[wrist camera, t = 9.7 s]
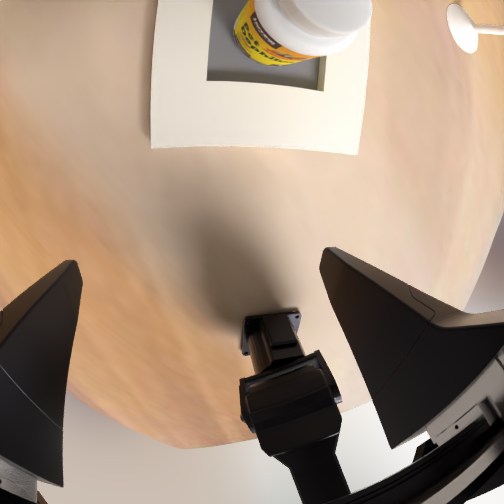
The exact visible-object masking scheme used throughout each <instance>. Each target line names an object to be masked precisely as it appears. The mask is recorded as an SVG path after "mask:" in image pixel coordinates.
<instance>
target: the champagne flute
mask: <svg viewBox="0 0 504 504" xmlns="http://www.w3.org/2000/svg"><path fill="white" fill-rule="evenodd" d="M447 21H448V25H449V28H450V31H451V33H452V35H453V37H454V39H455V41H456V42H457V44H458V45H459V46H460V47H461V48H462V49H463V50H464V51H466V52H468V53H473V52H475V51H476V49H477V46H478V33H487V34H498V35H504V26H503V25H490V24H475V23H474V22H473V20H472V19H471V17H470V16H469V14H468V13H467V12H466V11H465V10H464V9H463V8H462V7H461V6H459V5H457V4H450V5H449V6H448V8H447Z"/></svg>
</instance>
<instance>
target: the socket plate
mask: <svg viewBox="0 0 504 504" xmlns="http://www.w3.org/2000/svg"><path fill="white" fill-rule="evenodd" d="M248 1H249V0H158V8H157V16H156V24H155V34H154V45H153V59H152V77H151V149H154V148H171V147H197V146H246V147H273V148H290V149H303V150H315V151H325V152H334V153H343V154H351V155H357V153H358V147H359V140H360V134H361V127H362V119H363V112H364V103H365V94H366V85H367V74H368V61H369V46H370V21H369V22H368V24H367V25H366V26H365V27H364V28H363V29H361V30H360V31H358V34H357V36H356V38H355V39H354V41H353V42H352V43H351V44H350V45H349V46H348V47H346V48H345V49H343V50H341V51H339V52H337V53H334V54H330V55H326V56H321V57H316V58H312V59H308V60H304V61H300V62H296V63H292V64H289V65H285V66H277V67H271V66H264V65H261V64H258V63H255V62H253V61H252V60H250V59H248V58H247V57H246V56H245V55H244V54H243V53H242V52H241V51H240V50H239V48H238V47H237V45H236V43H235V40H234V34H233V31H234V24H235V22H236V19H237V17H238V16H239V14H240V13H241V11H242V10H243V8H244V7H245V5H246V4H247V2H248ZM370 20H371V18H370Z"/></svg>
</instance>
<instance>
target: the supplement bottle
mask: <svg viewBox="0 0 504 504" xmlns="http://www.w3.org/2000/svg"><path fill="white" fill-rule="evenodd" d="M371 15H372V3H371V0H249V1H248V2H247V4H246V5H245V7H244V8H243V10H242V11H241V13H240V14H239V16H238V17H237V19H236V22H235V24H234V31H233V34H234V40H235V43H236V45H237V47H238V48H239V50H240V51H241V52H242V53H243V54H244V55H245V56H246V57H247V58H248V59H250V60H252V61H253V62H255V63H258V64H261V65H264V66H271V67H277V66H285V65H289V64H292V63H296V62H300V61H304V60H308V59H312V58H316V57H321V56H326V55H330V54H334V53H337V52H339V51H341V50H343V49H345V48H346V47H348V46H349V45H350V44H351V43H352V42H353V41H354V39H355V38H356V36H357V34H358V31H360V30H361V29H363V28H364V27H365V26H366V25H367V24H368V22H369V21H370V18H371Z"/></svg>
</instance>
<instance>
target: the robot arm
mask: <svg viewBox="0 0 504 504" xmlns="http://www.w3.org/2000/svg"><path fill="white" fill-rule="evenodd" d="M319 270H320V274H321V277H322V279H323V282H324V285H325V288H326V291H327V294H328V297H329V300H330V303H331V305H332V308H333V310H334V312H335V314H336V316H337V319H338V321H339V323H340V325H341V327H342V330H343V332H344V334H345V336H346V339H347V341H348V343H349V345H350V348H351V350H352V352H353V355H354V357H355V359H356V362H357V364H358V366H359V369H360V371H361V373H362V376H363V378H364V381H365V383H366V386H367V388H368V390H369V393H370V395H371V398H372V399H373V400H372V401H373V403H374V406H375V408H376V411H377V413H378V416H379V419H380V421H381V424H382V426H383V429H384V432H385V434H386V437H387V440H388V443H389V445H390V447H391V449H394V448H396V447H398V446H400V445H402V444H404V443H406V442H407V441H409V440H411V439H413V438H415V437H416V436H418V435H420V434H422V433H423V432H425V431H427V432H428V434H429V435H430V439H429V440H427V441H426V442H424V443H423V444H421V445H420V446H418V447H417V450H416V453H415V456H414V460H413V463H412V464H410V465H409V466H407V467H405V468H403V469H402V470H400V471H398V472H396V473H394V474H392V475H390V476H388V477H386V478H384V479H382V480H380V481H378V482H376V483H374V484H372V485H370V486H368V487H365V488H363V489H361V490H358V491H356V492H354V493H350V490H349V487H348V485H347V482H346V479H345V477H344V474H343V472H342V469H341V467H340V464H339V461H338V459H337V456H336V454H335V450H336V446H337V442H338V437H339V433H340V428H341V422H342V417H341V414H340V412H339V409H338V407H337V404H338V403H341V402H342V398H341V394H340V392H339V389H338V386H337V384H336V381H335V379H334V377H333V375H332V373H331V371H330V369H329V367H328V366H327V364H326V362H325V360H324V358H323V356H322V354H321V353H320V351H319V350H317V351H314V353H312V354H309V355H307V356H306V355H305V352H304V350H303V348H302V345H301V343H300V341H299V338H298V336H297V331H298V327H299V324H300V320H301V314H300V312H299V311H296V312H287V313H278V314H269V315H259V316H249V317H246V318H245V319H244V325H243V340H242V354H243V355H244V356H248V355H250V356H251V359H252V363H253V367H254V371H255V375H253V376H250V377H247V378H245V377H244V378H241V379H240V386H239V392H240V406H241V415H240V418H241V420H242V422H244V423H246V424H247V425H248V427H249V429H250V430H251V432H252V433H256V435H257V437H258V440H259V443H260V446H261V449H262V450H263V451H264V452H265V453H266V454H267V455H268V456H270V457H271V456H273V457H274V458H276V459H277V460H279V461H280V462H281V463H282V464H284V465H285V466H287V467H288V468H289V469H290V472H291V474H292V477H293V480H294V482H295V485H296V488H297V490H298V493H299V496H300V498H301V501H302V503H303V504H464V503H465V502H466V501H468V500H470V499H472V498H475V497H477V496H480V495H482V494H484V493H486V492H488V491H491V490H493V489H495V488H497V487H499V486H501V485H503V484H504V309H502V310H497V311H491V312H486V313H480V314H470V313H465V312H463V311H460V310H458V309H456V308H454V307H452V306H450V305H448V304H446V303H444V302H442V301H440V300H438V299H436V298H434V297H432V296H430V295H427V294H426V293H424V292H422V291H420V290H418V289H416V288H414V287H412V286H410V285H408V284H407V283H405V282H403V281H401V280H399V279H397V278H395V277H393V276H391V275H390V274H388V273H386V272H384V271H382V270H380V269H378V268H376V267H374V266H372V265H370V264H368V263H366V262H364V261H362V260H360V259H358V258H356V257H354V256H352V255H350V254H348V253H346V252H344V251H342V250H340V249H338V248H336V247H326V248H325V249H324V250H323V254H322V258H321V262H320V266H319ZM82 286H83V281H82V277H81V273H80V270H79V267H78V264H77V262H76V261H75V260H65V261H64V262H62V263H61V264H60V265H58V266H57V267H55V268H54V269H53V270H51V271H50V272H49V273H47V274H46V275H45V276H43V277H42V278H41V279H39V280H38V281H37V282H36V283H34V284H33V285H32V286H30V287H29V288H28V289H27V290H25V291H24V292H23V293H22V294H20V295H19V296H18V297H17V298H16V299H14V300H13V301H12V302H11V303H10V304H8V305H7V306H6V307H5V308H4V309H3V311H0V504H47V502H46V501H45V500H44V498H43V497H42V495H41V494H40V493H39V491H37V480H38V481H41V482H45V483H48V484H52V485H55V486H59V487H63V456H62V452H63V431H62V430H63V418H64V404H65V394H66V385H67V378H68V370H69V364H70V358H71V352H72V346H73V341H74V336H75V331H76V326H77V321H78V314H79V306H80V299H81V292H82Z"/></svg>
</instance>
